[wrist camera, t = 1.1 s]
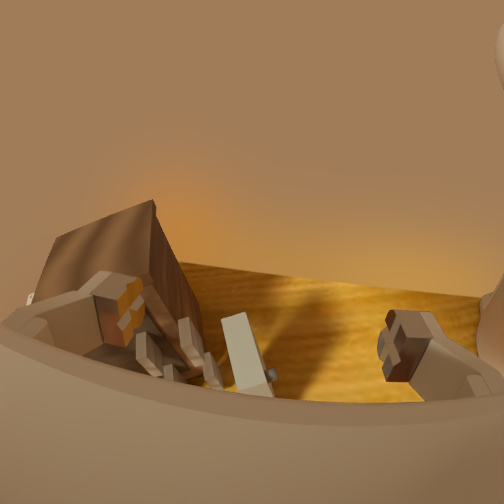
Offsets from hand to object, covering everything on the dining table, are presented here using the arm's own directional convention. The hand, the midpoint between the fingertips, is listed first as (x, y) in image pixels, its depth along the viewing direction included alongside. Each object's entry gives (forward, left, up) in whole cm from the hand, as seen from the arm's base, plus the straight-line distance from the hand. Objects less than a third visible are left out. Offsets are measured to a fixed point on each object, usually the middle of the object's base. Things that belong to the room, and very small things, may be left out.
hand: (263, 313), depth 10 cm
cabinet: (+15, -20, -28) cm, 37 cm away
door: (+2, -9, -28) cm, 29 cm away
